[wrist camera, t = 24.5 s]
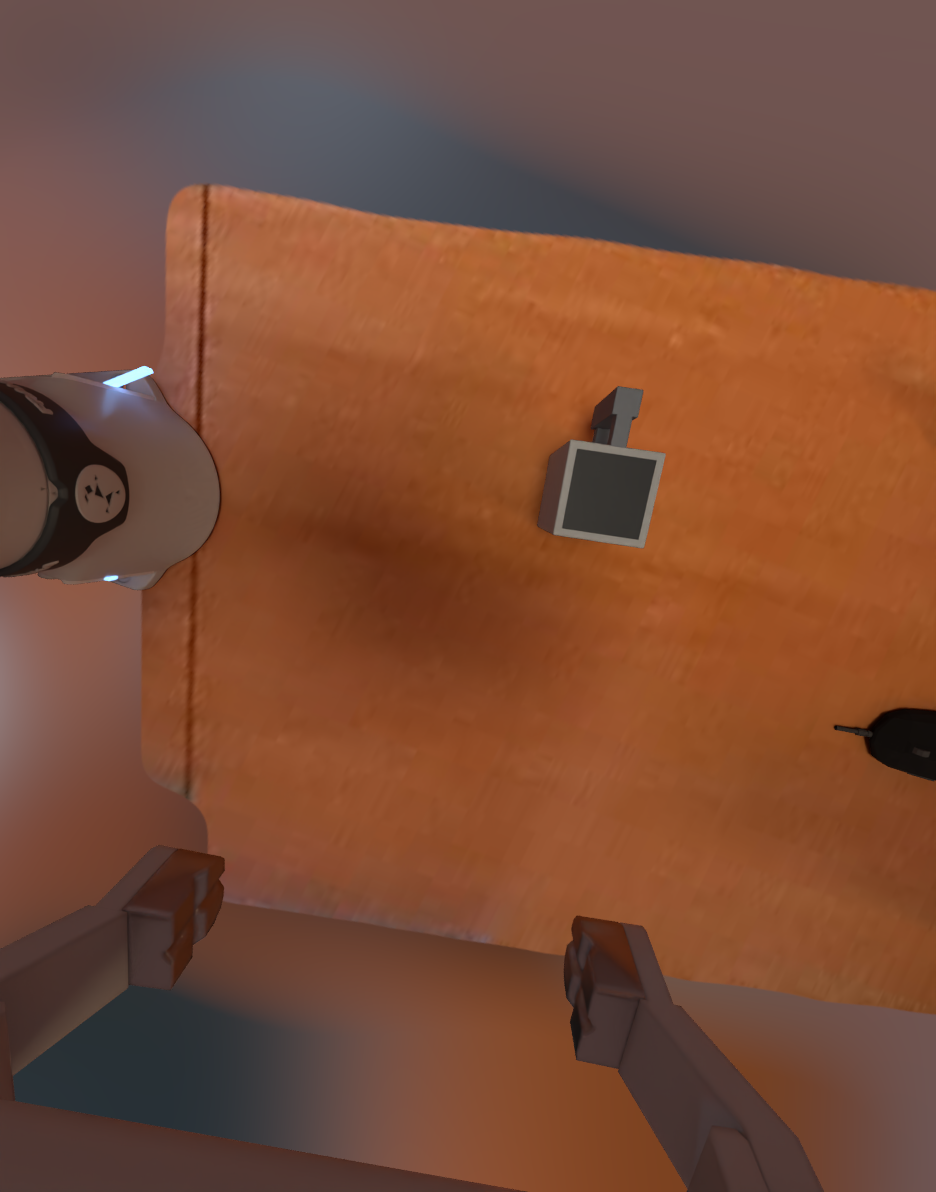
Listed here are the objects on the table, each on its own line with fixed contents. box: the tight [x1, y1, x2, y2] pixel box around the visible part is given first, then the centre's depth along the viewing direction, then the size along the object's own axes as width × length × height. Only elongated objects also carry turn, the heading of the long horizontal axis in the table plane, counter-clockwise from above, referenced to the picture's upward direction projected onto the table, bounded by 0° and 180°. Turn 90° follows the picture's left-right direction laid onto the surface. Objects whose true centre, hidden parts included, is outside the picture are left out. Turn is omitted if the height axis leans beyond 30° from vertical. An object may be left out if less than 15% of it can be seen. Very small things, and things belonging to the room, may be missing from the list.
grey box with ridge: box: [537, 386, 666, 548], centre depth 33 cm, size 10×6×9 cm
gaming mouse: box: [834, 709, 936, 781], centre depth 39 cm, size 6×15×4 cm, turn 82°
